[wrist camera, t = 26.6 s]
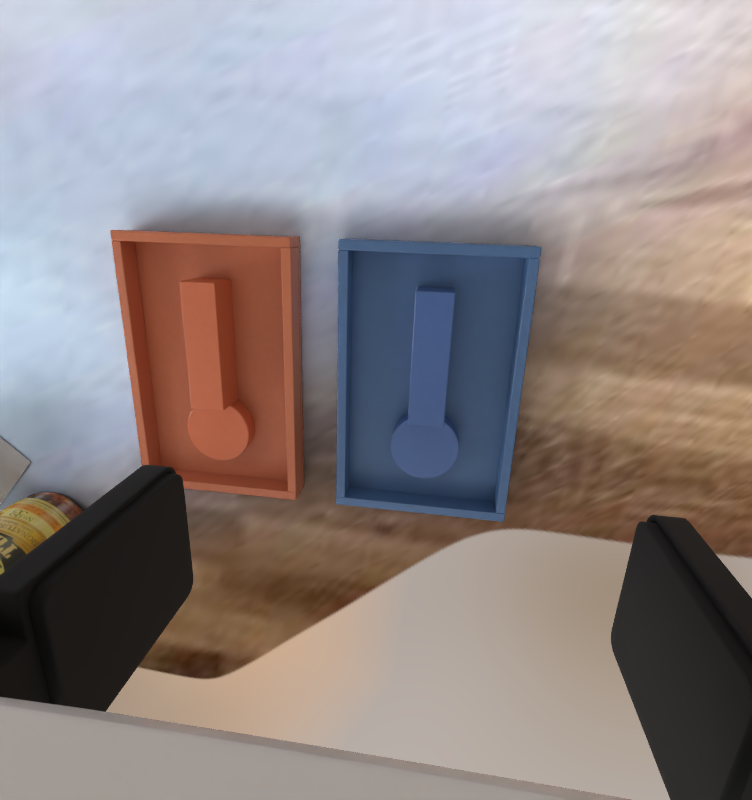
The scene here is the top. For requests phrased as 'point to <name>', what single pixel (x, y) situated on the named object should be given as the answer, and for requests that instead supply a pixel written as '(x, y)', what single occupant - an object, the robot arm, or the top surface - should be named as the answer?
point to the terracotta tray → (254, 347)
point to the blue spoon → (428, 390)
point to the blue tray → (467, 379)
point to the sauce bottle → (32, 524)
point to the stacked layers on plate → (10, 468)
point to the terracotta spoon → (213, 370)
